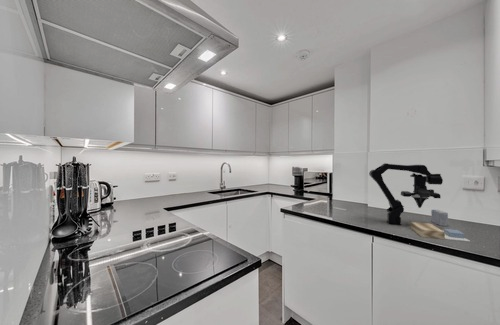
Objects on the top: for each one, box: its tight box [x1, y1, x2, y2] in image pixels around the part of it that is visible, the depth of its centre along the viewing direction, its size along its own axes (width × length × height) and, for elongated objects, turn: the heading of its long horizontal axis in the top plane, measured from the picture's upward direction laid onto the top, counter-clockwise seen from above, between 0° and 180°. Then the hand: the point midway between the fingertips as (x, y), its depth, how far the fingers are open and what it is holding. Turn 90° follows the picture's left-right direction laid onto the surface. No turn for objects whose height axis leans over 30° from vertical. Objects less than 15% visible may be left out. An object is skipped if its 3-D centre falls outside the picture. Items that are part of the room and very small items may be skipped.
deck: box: [410, 221, 446, 240], centre depth 112 cm, size 10×14×4 cm
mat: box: [441, 229, 471, 242], centre depth 108 cm, size 10×14×1 cm
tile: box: [443, 228, 465, 238], centre depth 107 cm, size 6×6×2 cm
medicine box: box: [430, 209, 449, 227], centre depth 127 cm, size 8×4×9 cm, turn 168°
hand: (419, 207), depth 123 cm, fingers closed
